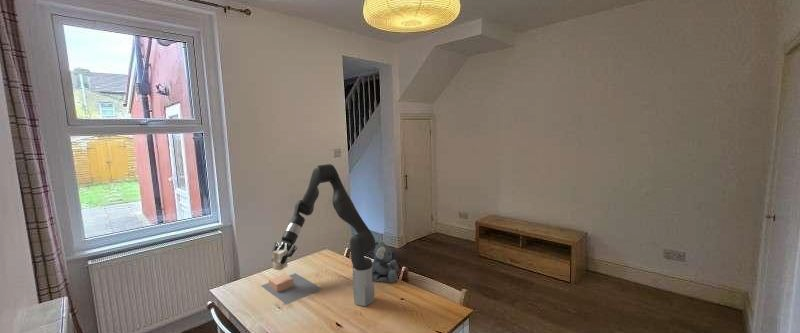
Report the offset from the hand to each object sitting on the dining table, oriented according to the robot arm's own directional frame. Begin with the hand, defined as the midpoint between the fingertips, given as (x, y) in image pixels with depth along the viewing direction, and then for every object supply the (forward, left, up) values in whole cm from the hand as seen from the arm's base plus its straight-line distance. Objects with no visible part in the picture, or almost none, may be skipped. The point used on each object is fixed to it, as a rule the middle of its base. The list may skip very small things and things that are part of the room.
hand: (277, 262), depth 164 cm
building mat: (-4, -5, -14) cm, 16 cm away
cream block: (+1, -2, -4) cm, 4 cm away
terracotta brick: (+1, -2, -14) cm, 14 cm away
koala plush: (-30, -46, -15) cm, 57 cm away
